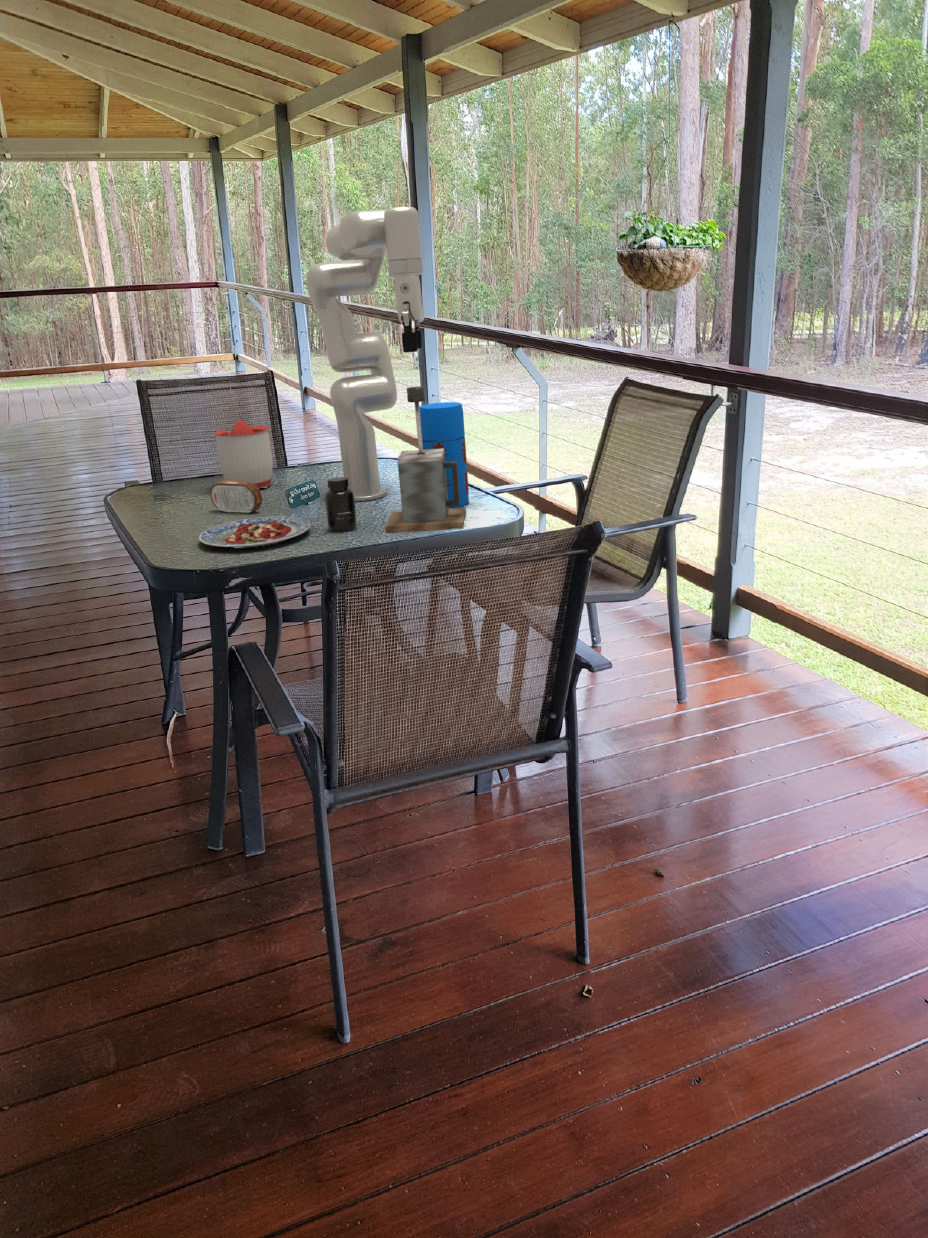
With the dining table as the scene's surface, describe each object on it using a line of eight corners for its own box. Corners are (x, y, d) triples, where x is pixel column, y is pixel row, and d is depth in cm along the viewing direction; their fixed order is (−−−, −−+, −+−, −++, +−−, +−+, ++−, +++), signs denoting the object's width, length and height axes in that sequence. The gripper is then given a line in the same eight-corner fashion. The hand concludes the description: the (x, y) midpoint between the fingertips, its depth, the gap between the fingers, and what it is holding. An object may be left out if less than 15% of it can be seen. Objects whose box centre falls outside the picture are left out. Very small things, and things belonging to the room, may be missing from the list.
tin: (264, 512, 252) (260, 480, 249) (257, 515, 249) (252, 482, 246) (218, 510, 258) (213, 479, 255) (211, 512, 255) (206, 481, 253)
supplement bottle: (345, 533, 224) (339, 482, 220) (322, 531, 228) (316, 481, 224) (363, 526, 230) (357, 476, 226) (340, 524, 233) (335, 475, 229)
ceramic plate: (222, 527, 240) (220, 515, 239) (322, 522, 237) (321, 511, 236) (183, 556, 216) (181, 544, 215) (295, 552, 213) (293, 539, 212)
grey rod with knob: (413, 479, 223) (405, 389, 216) (415, 475, 227) (407, 386, 220) (430, 478, 223) (423, 387, 216) (432, 474, 227) (424, 385, 220)
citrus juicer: (264, 479, 294) (254, 412, 287) (284, 487, 280) (275, 418, 273) (214, 487, 286) (203, 420, 280) (232, 497, 272) (221, 425, 265)
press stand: (385, 532, 223) (378, 461, 217) (392, 517, 236) (386, 450, 230) (463, 528, 221) (458, 456, 216) (466, 513, 234) (461, 445, 229)
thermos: (464, 509, 238) (457, 407, 230) (422, 510, 240) (413, 409, 232) (472, 499, 248) (466, 401, 240) (432, 500, 250) (424, 403, 242)
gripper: (419, 267, 201) (426, 352, 206) (426, 267, 217) (432, 346, 223) (383, 270, 201) (391, 354, 207) (393, 270, 217) (400, 348, 223)
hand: (412, 350), depth 215 cm, fingers open, 9 cm apart
